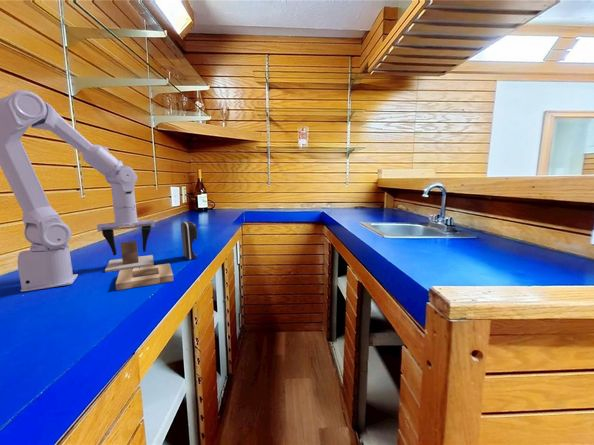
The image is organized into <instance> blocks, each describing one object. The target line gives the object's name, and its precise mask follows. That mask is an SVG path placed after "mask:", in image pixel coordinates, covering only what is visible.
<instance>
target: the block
mask: <svg viewBox="0 0 594 445" xmlns="http://www.w3.org/2000/svg"><path fill="white" fill-rule="evenodd" d="M120 249H121V251H120V252H121V259H122V260H123V265H125V264H132V263H139V260H138V257H139V253H138V243H137V240H129V241H122V242H120Z"/></svg>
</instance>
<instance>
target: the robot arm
mask: <svg viewBox="0 0 594 445" xmlns="http://www.w3.org/2000/svg"><path fill="white" fill-rule="evenodd" d="M29 128H31V129H38V130H43V131H48V132H51V133H53V134H54V135H55V136H57V137H59V139H61V140H63V141H64V142H66V144H68V145H69V146H71V147H72V148H74V149H76V150H77V151H78V152H80V153H81V155H82V160H83V161H84V162H86V163H87V165H89V166H90V167H91V168H94V170H96V171H97V172H99V173H100V174H101V175H103V176H104V179H105V180H106V182H107V183H108V184H110V189H111V197H112V206H113V214H114V222H108V223H97V225H96V228H97V229H96V230H97V232H102V233H101V234H102V236H103V238H105V240H106V241H107V244H109V247H110V248H111V249H110V250H111V251H112V253H113V254H112V255H113V256H117V249H116V248H117V247H116V244H115V232H114V231H116V230H117V231H118V230H128V229H129V230H130V229H140V228H141V237H142V252H144V253H145V252H147V251H146V250H147V242H148V239H149V235H150V233H151V230H152V229H151V228H153V227H155V220H154V219H145V220H138V214H137V204H136V196H135V195H136V194H135V184H136V183H137V180H138V175H137V174H136V172H135V170H134V169H133V168H132V167H131V166H129V165H124V164H123V163H124V162H123V161H122V160H121V159H118V158H116V157H115V156H114V155H112V154H111V153H110V152H109V148H108V147H106V146H102V145H100V144H93V143H91V142H90V140H88V139H86V138H87V137H84V135H82V134H81V133H80V132H79V130H77V129H76V128H75V127H73V126H72V125H71V124H70V123H69V122H67V121H66V119H64V118H63V116H61V115H60V114H59V113H58V112H57V110H55V108H54V106H52V105H51V104H50V103H48V102H46V101H44V99H42V98H41V97H40V96H39V95H38V94H36V93H34V92H32V91H30V90H25V89H20V90H19V89H18V90H15V91H13V92H12V93H11V94H9V95H7V96H3V97H1V98H0V168H1V170H2V173H3V174H4V177H5V178H6V181H7V183H8V185H9V187H10V189H11V191H12V193H13V195H14V198H15V199H16V201H17V203H18V205H19V207H20V209H21V211H22V222H23V224H24V231H23V234H24V238H25V239H26V241H28V243H30V244H31V245H30V247H29V250H22V251H20V252H19V253H18V255H17V269H18V276H19V281H20V287H21V289H20V292H22V293H23V292H28V291H35V290H42V289H49V288H55V287H57V288H58V287H62V286H69V285H72V284H73V283H74V282H75V280H76V279H77V278H78V277H79V274H78V273H75V274H74V272H73V266H72V260H71V254H70V253H71V252H70V251H71V250H70V246H69V245H70V244H69V242H70V240H71V238H72V230H71V228H70V226H69V225H68V224H66V223H65V222H64V221H63V220H62V219H61V216H60V214H58V212H57V211H56V210H55V209H54V208H53V207H52V206H51V204H50V202H49V199H48V197H47V195H46V192H45V191H44V189H43V186H42V185H41V182H40V180H39V178H38V176H37V173H36V171H35V169H34V166H33V164H32V162H31V160H30V158H29V156H28V154H27V152H26V149H25V147H24V144H23V142H22V141H21V139H22V137H23V136H24V134H25V133H26V132H27V130H28V129H29Z"/></svg>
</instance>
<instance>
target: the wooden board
mask: <svg viewBox="0 0 594 445" xmlns="http://www.w3.org/2000/svg"><path fill="white" fill-rule="evenodd" d="M118 271H119V272H118V274H117V278H116V281H115V291H122V290H127V289H134V288H138V287H139V288H140V287H147V286H150V285H156V284H157V285H158V284H163V283H169V282H174V274H173V273H174V272H173V270H172V267H171V263H163V264H156V265H154V266H147V267H140V268H133V269H125V270H118Z"/></svg>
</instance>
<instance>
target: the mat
mask: <svg viewBox="0 0 594 445" xmlns="http://www.w3.org/2000/svg"><path fill="white" fill-rule="evenodd" d="M138 260H139V263H132V264H125V265H123V260H122V258H117V259H116V258H115V259H110V260H109V261H108V263H107V266H106V267H105V269H104V272H105V273H111V272H118V271H120V270H126V269H132V268H139V267H147V266H154V256H153V254H150V255H143V256H142V255H141V256H138Z"/></svg>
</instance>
